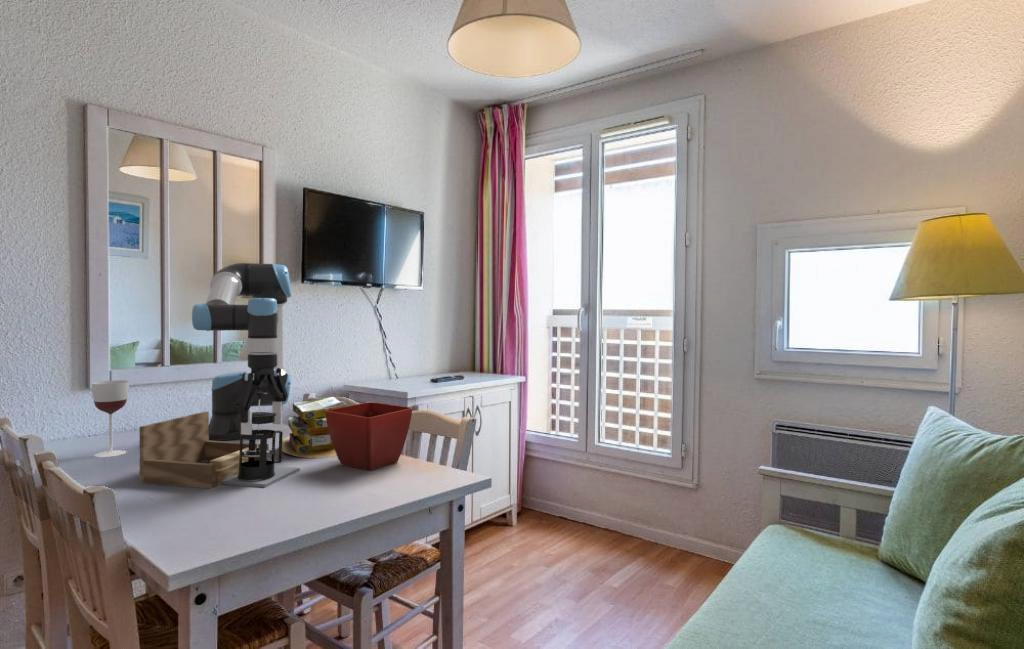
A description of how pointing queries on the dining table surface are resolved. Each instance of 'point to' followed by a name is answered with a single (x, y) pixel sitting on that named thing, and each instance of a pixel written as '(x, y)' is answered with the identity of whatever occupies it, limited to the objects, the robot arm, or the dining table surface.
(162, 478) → the wooden box
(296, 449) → the stacked boxes on plate
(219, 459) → the offcut stack
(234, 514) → the dining table surface
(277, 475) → the slate mat
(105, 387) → the wineglass
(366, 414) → the plant pot
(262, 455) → the french press
